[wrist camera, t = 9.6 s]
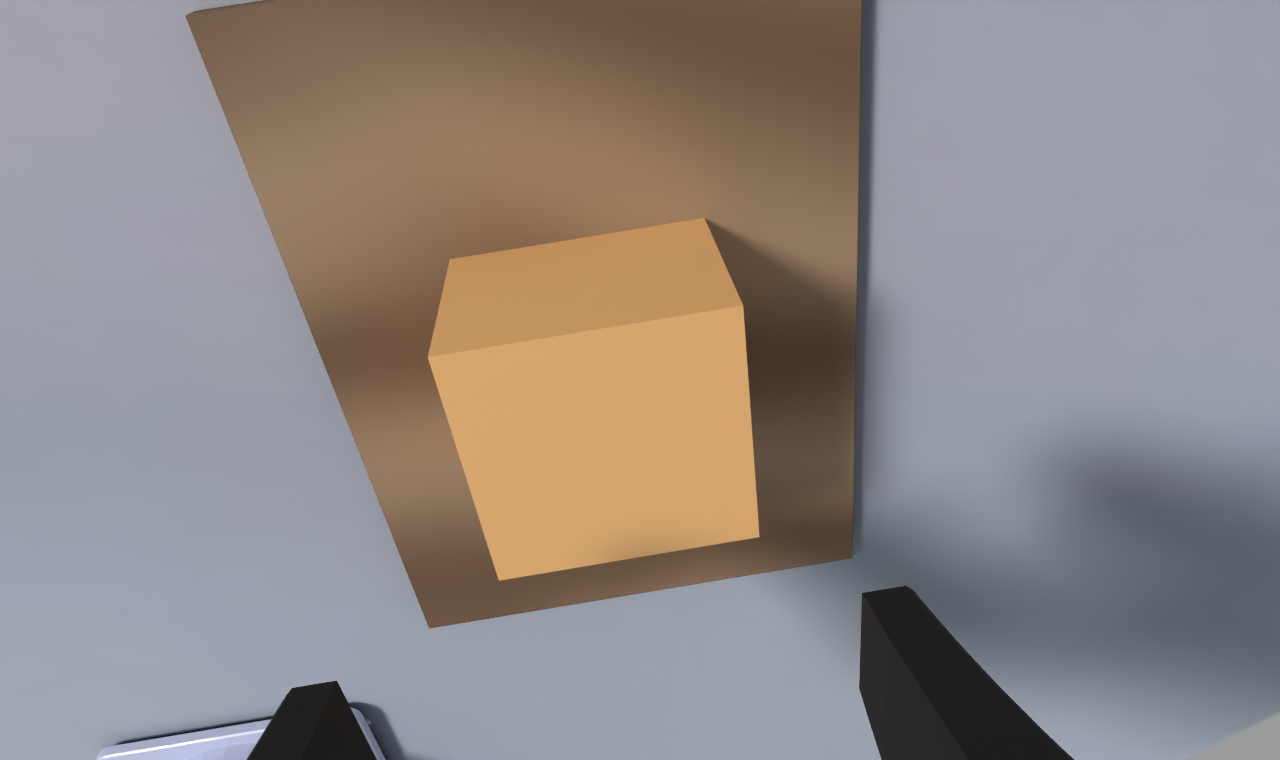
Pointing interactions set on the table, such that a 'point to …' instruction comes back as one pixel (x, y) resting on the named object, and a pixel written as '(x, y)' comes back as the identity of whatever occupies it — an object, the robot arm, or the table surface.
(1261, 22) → the table surface
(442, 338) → the cardboard-colored cube
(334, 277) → the post board
